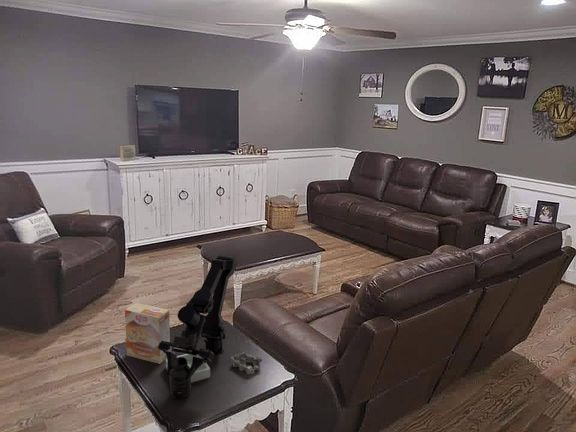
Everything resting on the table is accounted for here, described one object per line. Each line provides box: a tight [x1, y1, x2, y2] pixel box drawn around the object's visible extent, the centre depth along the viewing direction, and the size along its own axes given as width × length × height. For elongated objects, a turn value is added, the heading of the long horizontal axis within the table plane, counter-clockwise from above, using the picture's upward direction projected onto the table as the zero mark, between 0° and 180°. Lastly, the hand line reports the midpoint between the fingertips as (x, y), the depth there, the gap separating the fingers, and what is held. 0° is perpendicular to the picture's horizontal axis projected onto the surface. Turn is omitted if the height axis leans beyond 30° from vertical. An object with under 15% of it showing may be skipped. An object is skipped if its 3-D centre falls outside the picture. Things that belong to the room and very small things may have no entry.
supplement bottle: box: [169, 357, 192, 399], centre depth 145 cm, size 7×7×12 cm
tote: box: [165, 353, 211, 384], centre depth 158 cm, size 13×13×4 cm
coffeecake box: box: [124, 302, 171, 365], centre depth 165 cm, size 15×7×20 cm, turn 72°
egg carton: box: [230, 351, 263, 375], centre depth 164 cm, size 11×8×4 cm
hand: (178, 377), depth 143 cm, fingers closed on supplement bottle, 7 cm apart
